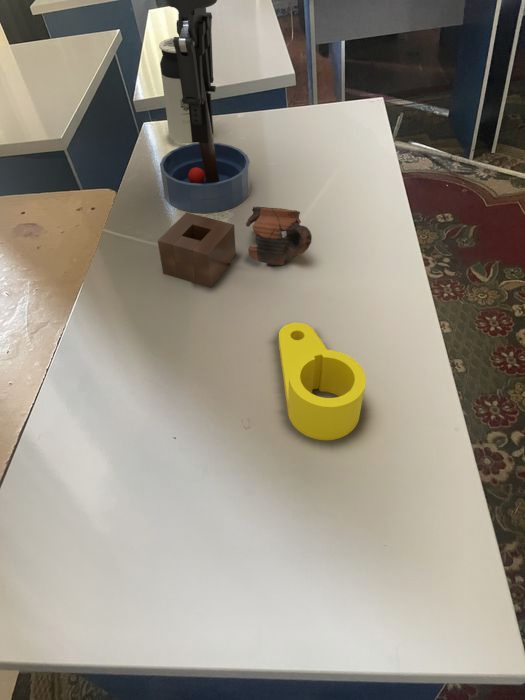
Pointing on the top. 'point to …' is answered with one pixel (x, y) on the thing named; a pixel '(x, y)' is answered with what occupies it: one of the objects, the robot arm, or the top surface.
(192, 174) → the ball
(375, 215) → the top surface
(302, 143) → the top surface
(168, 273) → the holder
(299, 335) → the crank
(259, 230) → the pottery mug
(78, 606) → the top surface
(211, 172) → the stick
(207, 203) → the bowl
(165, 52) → the travel mug
